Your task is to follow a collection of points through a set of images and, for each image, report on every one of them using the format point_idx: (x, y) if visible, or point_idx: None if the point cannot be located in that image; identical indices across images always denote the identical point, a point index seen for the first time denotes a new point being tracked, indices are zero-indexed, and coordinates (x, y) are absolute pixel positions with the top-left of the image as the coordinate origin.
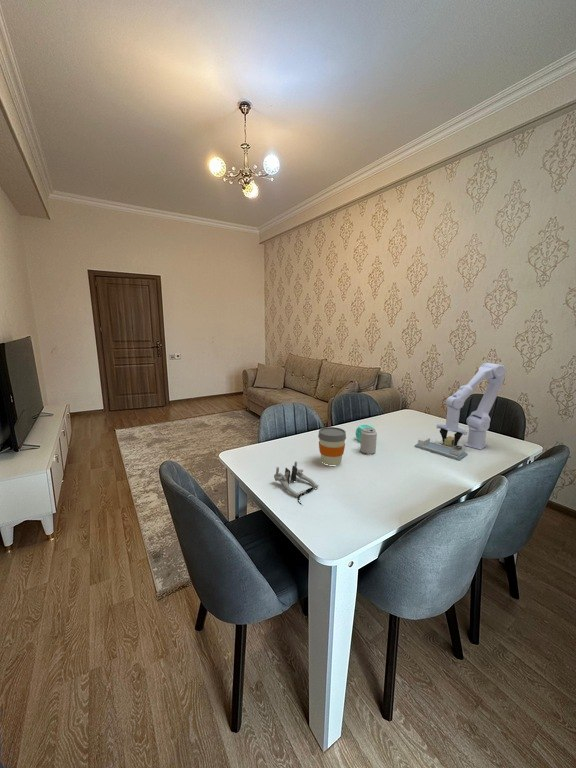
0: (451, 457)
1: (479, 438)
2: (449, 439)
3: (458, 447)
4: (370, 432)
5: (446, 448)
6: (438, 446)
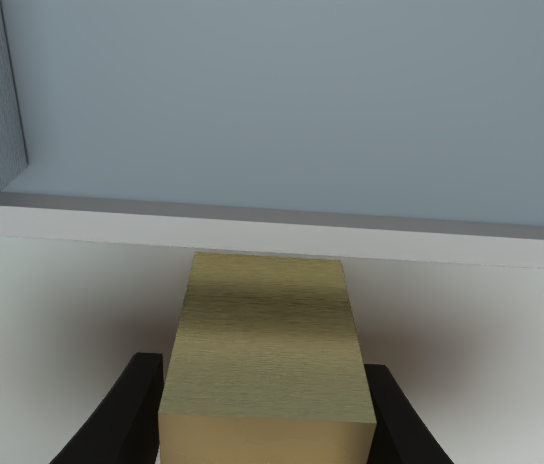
0: None
1: None
2: (241, 442)
3: None
4: None
5: (241, 162)
6: (432, 156)
